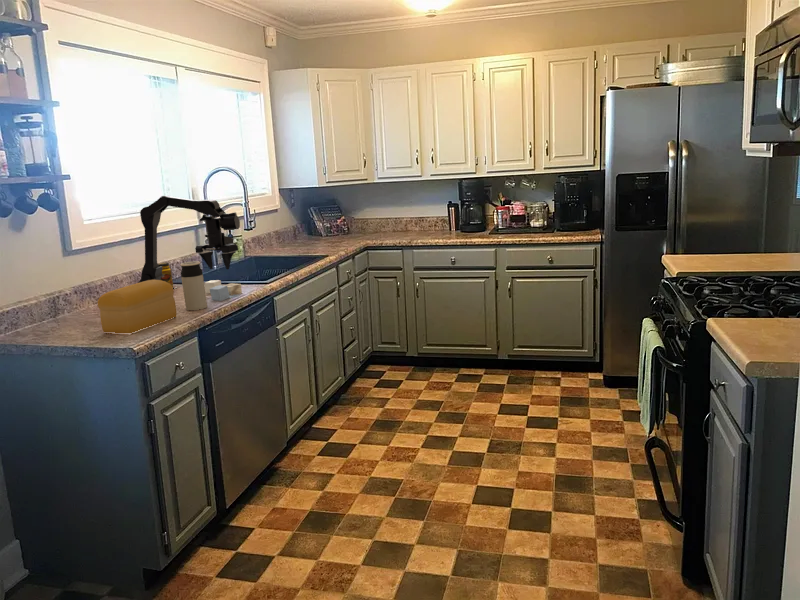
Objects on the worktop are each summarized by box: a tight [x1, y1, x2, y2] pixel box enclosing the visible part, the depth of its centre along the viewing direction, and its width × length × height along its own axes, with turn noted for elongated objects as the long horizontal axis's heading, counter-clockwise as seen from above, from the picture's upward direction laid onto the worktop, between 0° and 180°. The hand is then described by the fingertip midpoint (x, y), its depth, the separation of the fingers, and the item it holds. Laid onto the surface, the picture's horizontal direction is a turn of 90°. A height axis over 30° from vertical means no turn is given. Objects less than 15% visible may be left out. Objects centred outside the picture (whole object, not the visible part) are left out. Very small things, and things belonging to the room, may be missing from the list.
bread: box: [97, 280, 177, 333], centre depth 238 cm, size 24×13×15 cm, turn 159°
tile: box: [228, 294, 241, 299], centre depth 277 cm, size 6×4×1 cm, turn 147°
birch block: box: [223, 283, 243, 295], centre depth 282 cm, size 6×6×4 cm
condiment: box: [158, 262, 178, 290], centre depth 305 cm, size 7×8×12 cm
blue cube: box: [209, 284, 230, 302], centre depth 273 cm, size 5×5×5 cm
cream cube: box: [204, 279, 222, 294], centre depth 289 cm, size 5×5×5 cm
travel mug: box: [180, 261, 208, 311], centre depth 257 cm, size 8×8×18 cm
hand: (219, 269), depth 273 cm, fingers open, 9 cm apart
